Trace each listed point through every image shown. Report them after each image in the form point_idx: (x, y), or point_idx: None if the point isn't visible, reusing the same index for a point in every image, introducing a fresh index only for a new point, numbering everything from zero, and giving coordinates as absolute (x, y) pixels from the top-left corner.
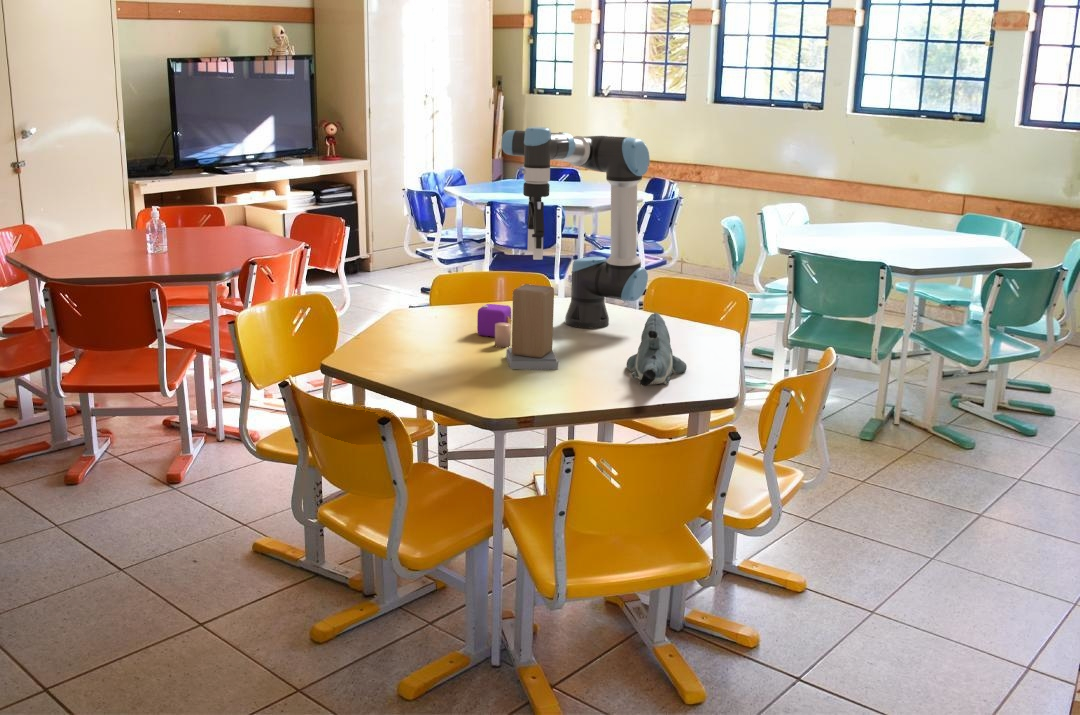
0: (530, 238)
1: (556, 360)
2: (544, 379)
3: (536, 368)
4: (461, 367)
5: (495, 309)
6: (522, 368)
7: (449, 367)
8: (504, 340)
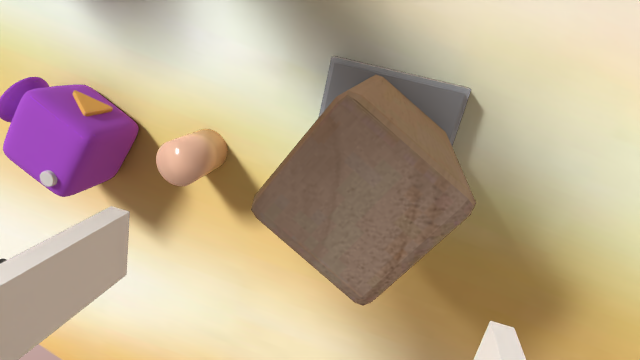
0: (41, 321)
1: (459, 90)
2: (548, 161)
3: None
4: (370, 305)
5: (71, 156)
6: None
7: (363, 327)
8: (218, 156)
